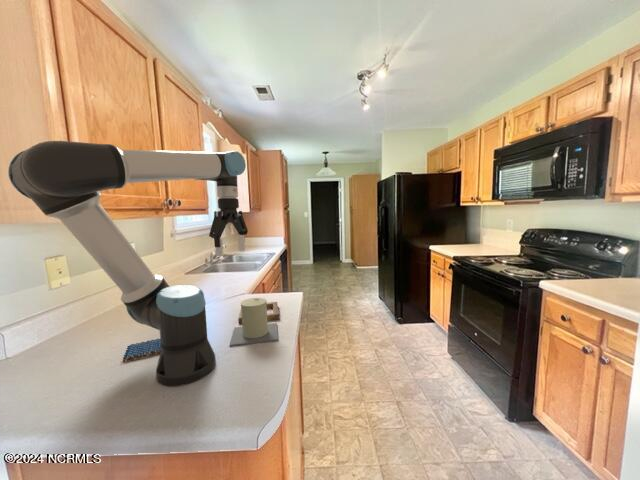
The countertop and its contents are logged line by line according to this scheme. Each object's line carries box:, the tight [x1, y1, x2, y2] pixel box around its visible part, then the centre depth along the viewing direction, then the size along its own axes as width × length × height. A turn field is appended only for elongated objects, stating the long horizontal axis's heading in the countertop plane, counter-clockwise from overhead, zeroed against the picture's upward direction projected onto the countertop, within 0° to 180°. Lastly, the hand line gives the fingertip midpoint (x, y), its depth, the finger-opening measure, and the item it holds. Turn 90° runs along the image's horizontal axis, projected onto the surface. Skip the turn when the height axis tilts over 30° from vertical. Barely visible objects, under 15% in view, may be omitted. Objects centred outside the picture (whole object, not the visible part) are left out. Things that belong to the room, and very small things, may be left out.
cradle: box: [237, 301, 280, 324], centre depth 117 cm, size 16×16×2 cm
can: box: [240, 297, 268, 338], centre depth 97 cm, size 9×9×12 cm
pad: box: [229, 322, 279, 348], centre depth 97 cm, size 16×14×1 cm
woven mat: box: [122, 338, 161, 363], centre depth 88 cm, size 10×11×2 cm
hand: (231, 253), depth 104 cm, fingers open, 13 cm apart
